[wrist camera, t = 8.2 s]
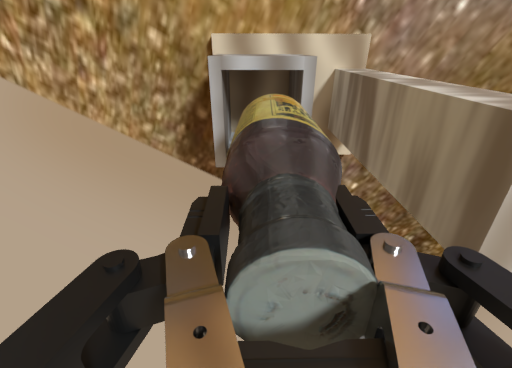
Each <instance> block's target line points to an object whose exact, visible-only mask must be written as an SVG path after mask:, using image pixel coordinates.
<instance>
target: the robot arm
mask: <svg viewBox="0 0 512 368" xmlns="http://www.w3.org/2000/svg"><path fill="white" fill-rule="evenodd" d="M335 197H336V203H337V208H338V211H339V216H340V218H341V220H342V222H343V224H344V225H345V227H346V229H347V231H348V232H349V233H350V234H351V235H353V236H354V237H355V238H356V240H357V241H358V242H359V243H360V245H361V247H362V248H363V250H364V251H365V253H366V255H367V258H368V260H369V262H370V264H371V267H372V269H373V272H374V274H375V276H376V278H377V280H378V283H377V293H376V297H375V300H374V304H373V307H372V311H371V315H370V318H369V322H368V325H367V329H366V332H365V335H364V336H362V337H360V338H359V339H344V340H341V341H338V342H334V343H331V344H328V345H325V346H322V347H318V348H315V349H311V350H308V349H303V348H298V347H294V346H290V345H286V344H282V343H277V342H273V341H269V340H266V341H237V338H236V334H235V331H234V327H233V323H232V320H231V316H230V313H229V309H228V305H227V302H226V298H225V294H224V291H223V287H222V286H223V283H224V273H225V264H226V256H227V245H228V236H229V228H230V213H229V193H228V186H211V188H210V192H209V195H208V197H198V198H197V199H196V200H195V201H194V202H193V203H192V205H191V208H190V212H189V213H188V216H187V219H186V221H185V224H184V227H183V230H182V232H181V235H180V237H179V238H177V239H175V240H173V241H172V242H171V243H170V244H169V245H168V246H167V247H166V250H165V253H163V254H161V255H158V256H154V257H150V258H146V259H141V260H139V257H138V255H137V254H136V253H135V252H134V251H131V250H116V251H112V252H109V253H107V254H105V255H103V256H101V257H100V258H98V259H97V260H96V261H95V262H93V263H92V264H91V265H90V266H89V267H88V268H87V269H85V270H84V271H83V272H82V273H81V274H80V275H79V276H77V277H76V278H75V279H74V280H73V281H72V282H71V283H69V284H68V285H67V286H66V287H65V288H64V289H63V290H62V291H60V292H59V293H58V294H57V295H56V296H55V297H53V298H52V299H51V300H50V301H49V302H48V303H47V304H45V305H44V306H43V307H42V308H41V309H40V310H39V311H37V312H36V313H35V314H34V315H33V316H32V317H31V318H30V319H28V320H27V321H26V322H25V323H24V324H23V325H22V326H20V327H19V328H18V329H17V330H16V331H15V332H14V333H12V334H11V335H10V336H9V337H8V338H7V339H5V340H4V341H3V342H2V343H1V344H0V368H125V366H126V365H127V364H128V362H129V361H130V359H131V358H132V356H133V355H134V353H135V352H136V350H137V348H138V347H139V346H140V344H141V343H142V341H143V340H144V338H145V337H146V335H147V334H148V332H149V331H150V329H151V327H152V326H153V324H156V323H159V322H163V321H165V343H166V368H512V348H511V347H510V346H509V345H508V344H506V343H505V342H504V341H503V340H502V339H501V338H500V337H498V336H497V335H496V334H495V333H494V332H492V331H491V330H490V329H489V328H488V327H486V326H485V325H484V324H483V323H482V322H481V321H480V320H478V319H477V318H476V317H475V314H476V312H477V311H478V309H479V307H480V305H482V306H483V307H484V308H485V309H487V310H488V311H489V312H490V313H492V314H493V315H494V316H495V317H497V318H498V319H499V320H500V321H502V322H503V323H504V324H505V325H507V326H508V327H509V328H510V329H511V330H512V272H510V271H508V270H507V269H505V268H504V267H502V266H501V265H499V264H498V263H496V262H494V261H493V260H491V259H490V258H488V257H487V256H485V255H483V254H481V253H479V252H477V251H475V250H472V249H469V248H466V247H461V246H450V247H447V248H446V249H445V250H444V252H443V254H442V257H439V256H434V255H429V254H424V253H419V252H416V249H415V247H414V246H413V245H412V244H411V243H410V242H409V241H408V240H406V239H404V238H402V237H400V236H398V235H395V234H391V233H389V232H388V231H387V229H386V228H385V227H384V225H383V224H382V223H381V221H380V220H379V219H378V217H377V216H375V213H374V212H373V211H372V210H371V208H370V207H369V205H368V204H367V203H366V201H364V200H362V199H361V198H359V197H358V196H352V195H351V193H350V192H349V191H348V189H347V188H346V186H345V185H338V188H337V192H336V196H335Z"/></svg>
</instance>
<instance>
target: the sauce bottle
mask: <svg viewBox="0 0 512 368" xmlns="http://www.w3.org/2000/svg"><path fill="white" fill-rule="evenodd" d="M341 177H342V165H341V159H340V157H339V154H338V152H337V150H336V148H335V147H334V145H333V144H332V142H331V141H330V140H329V139H328V137H327V136H326V135H325V134H324V132H323V131H322V130H321V129H320V128H319V126H318V125H317V124H316V123H315V121H314V120H313V119H312V118H311V117H310V115H309V114H308V113H307V112H306V111H305V109H304V108H303V107H302V106H301V105H300V103H298V102H297V101H296V100H294V99H293V98H291V97H289V96H286V95H282V94H268V95H264V96H261V97H259V98H257V99H255V100H254V101H252V102H251V103H250V104H249V105H248V106H247V107H246V108H245V109H244V111H243V112H242V115H241V117H240V120H239V122H238V125H237V128H236V130H235V133H234V136H233V139H232V142H231V145H230V148H229V151H228V154H227V159H226V164H225V168H224V172H223V178H222V185H221V186H228V193H229V213H230V215H231V217H232V218H233V221H234V222H235V223H236V224H237V225H238V227H239V239H238V246H237V247H236V249H235V251H234V253H233V254H232V256H231V259H230V261H229V264H228V269H227V276H226V284H225V298H226V302H227V305H228V309H229V313H230V316H231V320H232V323H233V327H234V331H235V334H237V335H238V336H239V337H241V338H242V339H243V340H244V341H266V340H269V341H273V342H277V343H282V344H286V345H290V346H294V347H298V348H303V349H308V350H311V349H315V348H318V347H322V346H325V345H328V344H331V343H334V342H338V341H341V340H344V339H359V338H360V337H362V336H364V335H365V332H366V329H367V325H368V322H369V318H370V315H371V311H372V307H373V304H374V300H375V297H376V293H377V283H378V280H377V278H376V276H375V274H374V272H373V269H372V267H371V264H370V262H369V260H368V258H367V255H366V253H365V251H364V250H363V248H362V247H361V245H360V243H359V242H358V241H357V240H356V238H355V237H354V236H353V235H351V234H350V233H349V232H348V231H347V229H346V227H345V225H344V224H343V222H342V220H341V218H340V216H339V211H338V208H337V203H336V197H335V196H336V192H337V188H338V185H341Z"/></svg>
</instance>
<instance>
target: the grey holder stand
mask: <svg viewBox="0 0 512 368" xmlns="http://www.w3.org/2000/svg"><path fill="white" fill-rule="evenodd" d="M211 37H212V52H213V55H211V56H208V67H209V81H210V95H211V109H212V122H213V136H214V150H215V164H216V167H225V164H226V159H227V154H228V151H229V148H230V145H231V142H232V139H233V136H234V133H235V130H236V128H237V125H238V122H239V120H240V117H241V115H242V112H243V111H244V109H245V108H246V107H247V106H248V105H249V104H250V103H251V102H252V101H254V100H255V99H257V98H259V97H261V96H264V95H268V94H282V95H286V96H289V97H291V98H293V99H294V100H296V101H297V102H298V103H300V105H301V106H302V107H303V108H304V109H305V111H306V112H307V113H308V114H309V115H310V117H311V118H312V119H313V120H314V121H315V123H316V124H317V125H318V126H319V128H320V129H321V130H322V131H323V132H324V134H325V135H326V136H327V137H328V139H329V140H330V141H331V142H332V144H333V145H334V147H335V148H336V150H337V152H338V154H351V153H352V154H353V155H354V156H355V157H356V158H357V159H358V160H359V161H360V162H361V163H362V164H363V165H364V166H365V167H366V168H367V170H368V171H369V172H370V173H371V174H372V175H373V176H374V177H375V178H376V179H377V180H378V181H379V182H380V183H381V184H382V185H383V186H384V187H385V188H386V189H387V190H388V191H389V192H390V193H391V194H392V195H393V196H394V197H395V198H396V199H397V200H398V202H399V203H400V204H401V205H402V206H403V207H404V208H405V209H406V210H407V211H408V212H409V213H410V214H411V215H412V216H413V217H414V218H415V219H416V220H417V221H418V222H419V223H420V224H421V225H422V226H423V227H424V228H425V229H426V230H427V231H428V232H429V234H430V235H431V236H432V237H433V238H434V239H435V240H436V241H437V242H438V243H439V244H440V245H441V246H442V247H443V248H444V249H446V248H447V247H450V246H461V247H466V248H469V249H472V250H475V251H477V252H479V253H481V254H483V255H485V256H487V257H488V258H490V259H491V260H493V261H494V262H496V263H498V264H499V265H501V266H502V267H504V268H505V269H507V270H508V271H510V272H512V94H509V93H503V92H497V91H491V90H486V89H480V88H474V87H468V86H462V85H457V84H451V83H445V82H439V81H434V80H428V79H422V78H416V77H410V76H405V75H399V74H393V73H387V72H382V71H376V70H370V69H365V68H366V63H367V57H368V51H369V45H370V39H371V34H213V33H211Z"/></svg>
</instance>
